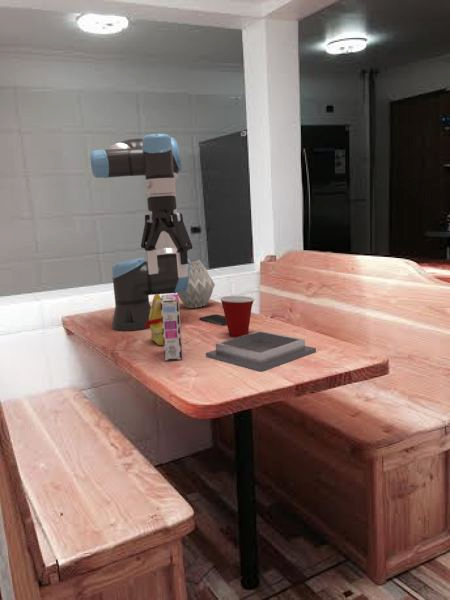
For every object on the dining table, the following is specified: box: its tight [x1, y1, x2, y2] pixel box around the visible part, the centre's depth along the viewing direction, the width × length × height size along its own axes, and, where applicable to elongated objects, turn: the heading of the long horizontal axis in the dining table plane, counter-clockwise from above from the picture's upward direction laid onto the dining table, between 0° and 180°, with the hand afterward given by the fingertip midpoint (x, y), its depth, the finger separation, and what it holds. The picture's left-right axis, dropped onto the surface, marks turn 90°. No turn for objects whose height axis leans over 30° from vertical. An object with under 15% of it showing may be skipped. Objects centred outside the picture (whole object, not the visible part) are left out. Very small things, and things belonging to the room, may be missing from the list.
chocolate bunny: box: [145, 294, 164, 347], centre depth 162 cm, size 7×11×15 cm, turn 25°
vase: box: [176, 259, 216, 309], centre depth 214 cm, size 16×16×18 cm
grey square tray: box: [205, 330, 317, 372], centre depth 144 cm, size 21×21×4 cm
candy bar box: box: [160, 293, 183, 362], centre depth 147 cm, size 11×5×16 cm, turn 5°
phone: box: [198, 313, 227, 327], centre depth 187 cm, size 8×1×15 cm
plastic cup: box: [219, 295, 256, 338], centre depth 165 cm, size 11×11×12 cm
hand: (167, 275), depth 145 cm, fingers open, 13 cm apart
